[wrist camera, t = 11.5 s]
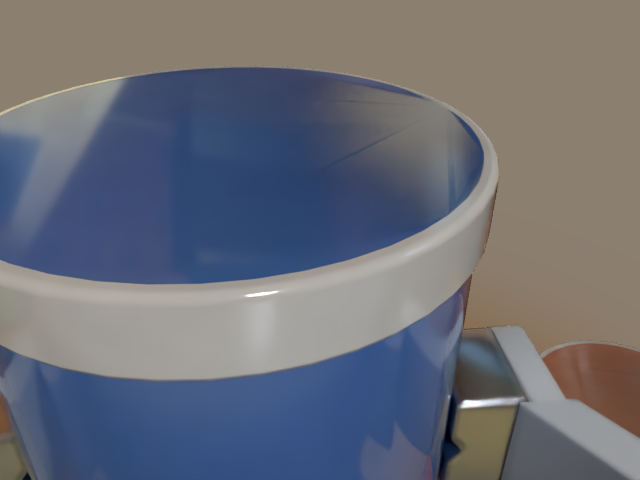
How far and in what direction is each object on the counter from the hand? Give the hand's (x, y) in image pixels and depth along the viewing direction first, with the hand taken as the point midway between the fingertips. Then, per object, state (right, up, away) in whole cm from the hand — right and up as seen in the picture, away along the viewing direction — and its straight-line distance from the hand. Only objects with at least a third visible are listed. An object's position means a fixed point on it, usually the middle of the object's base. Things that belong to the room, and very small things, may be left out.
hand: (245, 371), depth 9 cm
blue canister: (0, -5, +2) cm, 6 cm away
